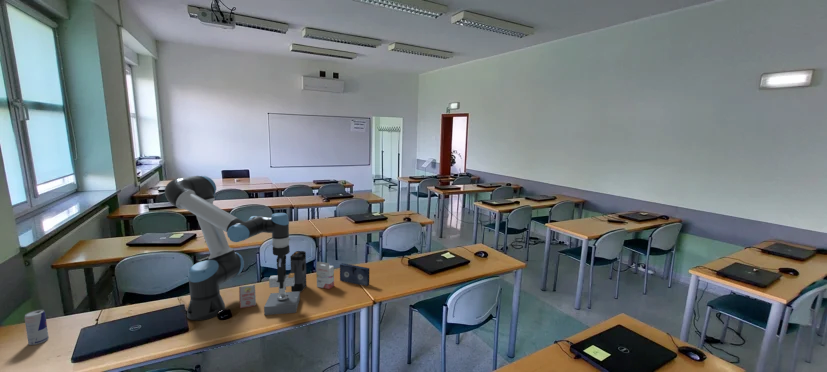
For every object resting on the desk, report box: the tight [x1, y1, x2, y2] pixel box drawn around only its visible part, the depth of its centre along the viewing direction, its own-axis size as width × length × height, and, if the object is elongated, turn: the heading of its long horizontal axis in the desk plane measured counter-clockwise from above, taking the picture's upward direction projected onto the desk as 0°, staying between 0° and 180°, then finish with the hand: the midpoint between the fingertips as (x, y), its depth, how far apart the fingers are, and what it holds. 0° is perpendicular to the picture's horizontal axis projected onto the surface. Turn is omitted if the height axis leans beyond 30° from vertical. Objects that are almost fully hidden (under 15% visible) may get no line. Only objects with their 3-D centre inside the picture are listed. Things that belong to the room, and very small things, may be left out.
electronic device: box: [289, 250, 307, 293], centre depth 181 cm, size 9×6×20 cm, turn 179°
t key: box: [268, 272, 295, 300], centre depth 161 cm, size 11×5×12 cm, turn 102°
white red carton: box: [238, 284, 257, 309], centre depth 162 cm, size 4×7×10 cm, turn 113°
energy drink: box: [24, 309, 49, 346], centre depth 130 cm, size 5×5×12 cm
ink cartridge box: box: [315, 261, 335, 290], centre depth 185 cm, size 9×5×15 cm, turn 73°
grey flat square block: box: [263, 291, 301, 316], centre depth 162 cm, size 14×14×4 cm
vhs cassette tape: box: [339, 262, 370, 287], centre depth 191 cm, size 18×3×10 cm, turn 68°
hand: (282, 291), depth 161 cm, fingers closed on t key, 4 cm apart
